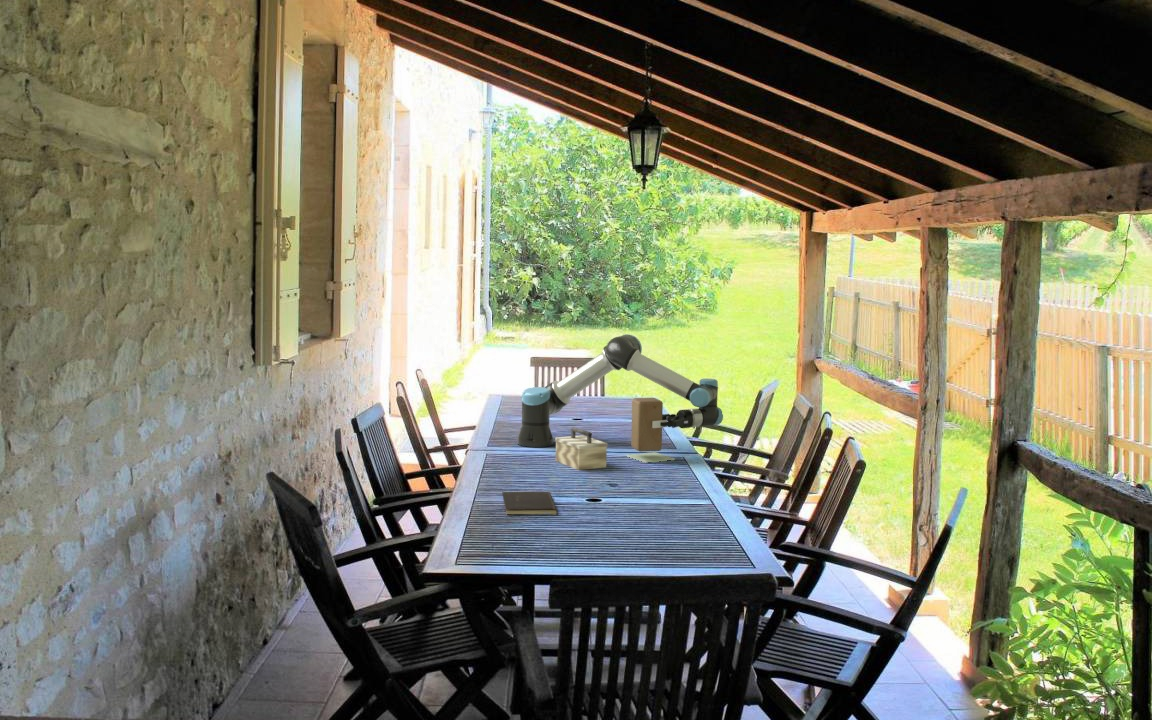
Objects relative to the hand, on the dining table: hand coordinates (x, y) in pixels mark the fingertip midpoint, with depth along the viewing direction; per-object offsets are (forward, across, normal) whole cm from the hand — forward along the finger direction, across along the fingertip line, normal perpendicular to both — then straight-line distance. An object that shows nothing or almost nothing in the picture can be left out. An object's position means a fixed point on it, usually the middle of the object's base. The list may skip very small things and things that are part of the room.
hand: (643, 422), depth 397 cm
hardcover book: (+75, -46, -16) cm, 89 cm away
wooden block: (-2, 0, -11) cm, 11 cm away
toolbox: (+27, +2, -15) cm, 31 cm away
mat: (-4, 0, -15) cm, 15 cm away
